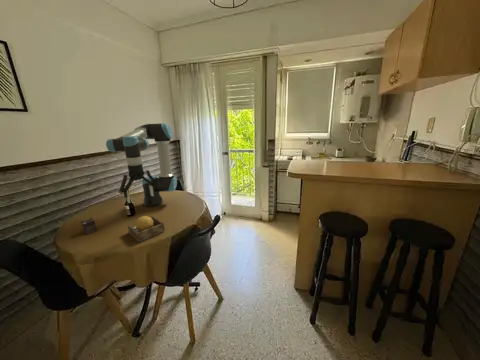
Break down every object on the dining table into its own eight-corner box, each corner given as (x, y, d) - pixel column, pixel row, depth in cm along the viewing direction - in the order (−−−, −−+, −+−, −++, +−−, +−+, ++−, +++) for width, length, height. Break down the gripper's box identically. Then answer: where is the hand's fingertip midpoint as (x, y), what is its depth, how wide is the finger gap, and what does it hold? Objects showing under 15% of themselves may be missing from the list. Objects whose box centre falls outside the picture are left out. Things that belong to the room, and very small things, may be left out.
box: (94, 227, 134) (91, 217, 131) (97, 230, 130) (94, 220, 128) (83, 231, 129) (80, 221, 127) (86, 234, 125) (83, 224, 123)
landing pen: (153, 223, 138) (152, 215, 136) (164, 231, 127) (163, 223, 125) (128, 232, 127) (127, 224, 125) (138, 242, 116) (137, 234, 114)
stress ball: (135, 235, 124) (137, 230, 117) (134, 219, 128) (136, 214, 120) (152, 232, 130) (155, 228, 122) (151, 217, 133) (154, 212, 126)
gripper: (153, 159, 125) (158, 191, 131) (107, 167, 108) (115, 203, 114) (159, 161, 120) (163, 194, 126) (112, 169, 103) (120, 207, 109)
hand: (141, 199), depth 120 cm, fingers open, 13 cm apart
